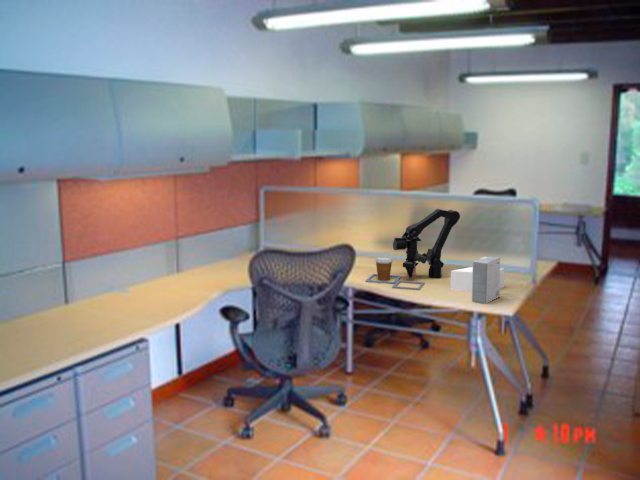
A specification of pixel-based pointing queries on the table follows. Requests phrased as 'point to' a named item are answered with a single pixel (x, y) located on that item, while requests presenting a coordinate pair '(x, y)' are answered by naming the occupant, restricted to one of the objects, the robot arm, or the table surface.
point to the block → (412, 274)
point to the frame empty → (408, 287)
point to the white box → (467, 279)
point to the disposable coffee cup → (383, 268)
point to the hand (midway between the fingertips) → (411, 276)
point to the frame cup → (382, 281)
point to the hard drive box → (486, 279)
